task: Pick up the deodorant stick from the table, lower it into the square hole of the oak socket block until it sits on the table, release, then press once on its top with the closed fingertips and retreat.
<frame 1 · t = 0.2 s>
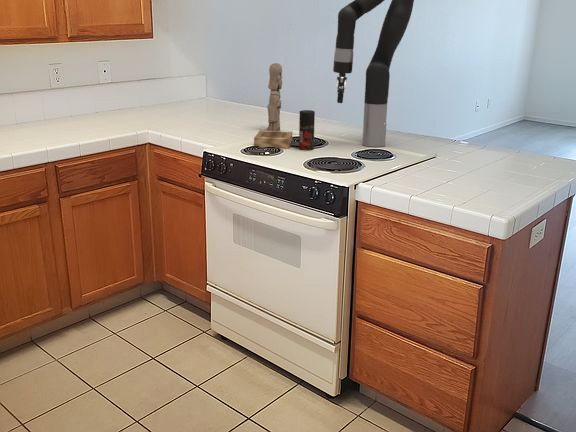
hand: (340, 101, 247), 18 cm above the worktop, tool pointing down, fingers open, 8 cm apart
sculpture: (274, 131, 278), on the worktop
socket block: (273, 144, 252), on the worktop
deodorant: (306, 149, 245), on the worktop
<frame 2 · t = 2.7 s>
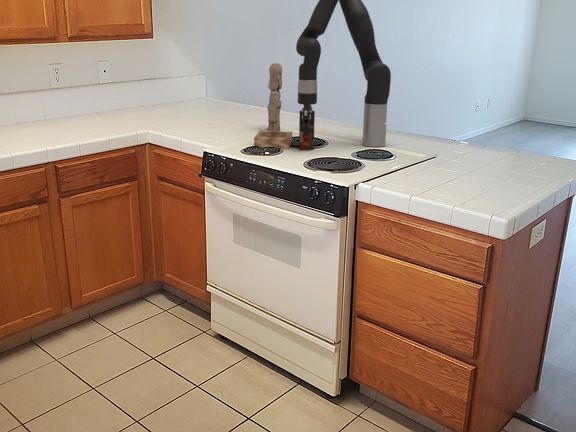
hand: (306, 133, 243), 6 cm above the worktop, tool pointing down, fingers closed on deodorant, 6 cm apart
deodorant: (306, 149, 245), on the worktop, touching gripper
everything else where it was.
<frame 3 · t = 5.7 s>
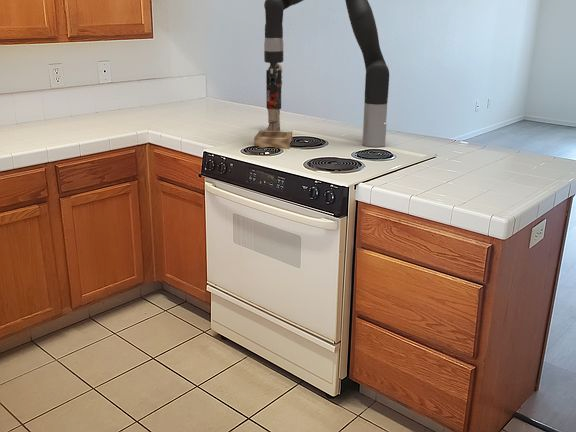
hand: (273, 92, 245), 21 cm above the worktop, tool pointing down, fingers closed on deodorant, 6 cm apart
deodorant: (273, 108, 247), point 15 cm above the worktop, touching gripper
everything else where it was.
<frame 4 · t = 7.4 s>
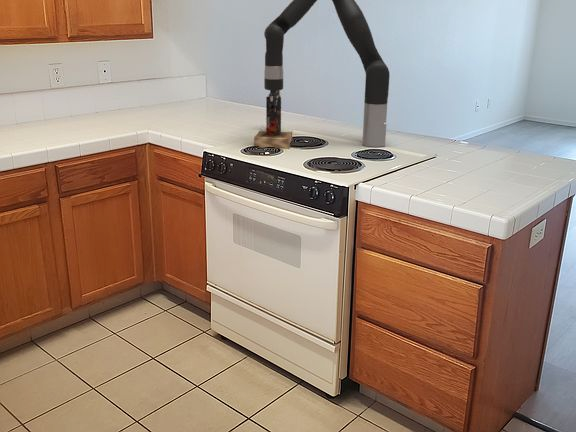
hand: (273, 119, 249), 10 cm above the worktop, tool pointing down, fingers closed on deodorant, 6 cm apart
deodorant: (273, 134, 251), point 4 cm above the worktop, touching gripper
everything else where it was.
when the fingers open (7 cm above the worktop, at t = 8.6 s): deodorant drops 1 cm, resting in socket block.
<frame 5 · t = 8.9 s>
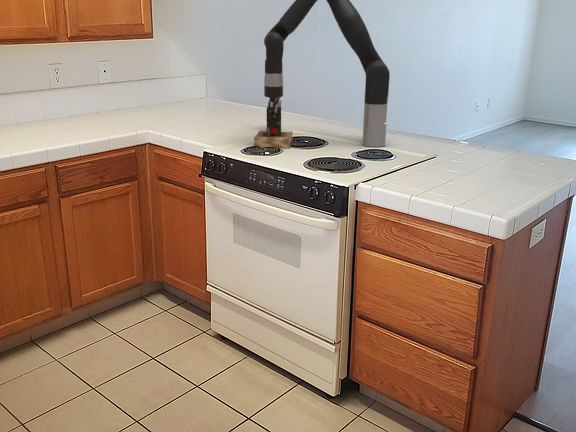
hand: (273, 125, 249), 8 cm above the worktop, tool pointing down, fingers open, 8 cm apart
deodorant: (273, 144, 252), resting in socket block
everything else where it was.
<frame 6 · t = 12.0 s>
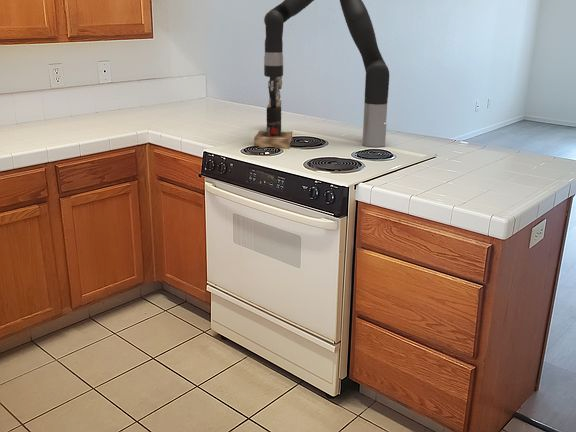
hand: (273, 107, 247), 15 cm above the worktop, tool pointing down, fingers closed
deodorant: (273, 144, 252), resting in socket block, touching gripper
everything else where it was.
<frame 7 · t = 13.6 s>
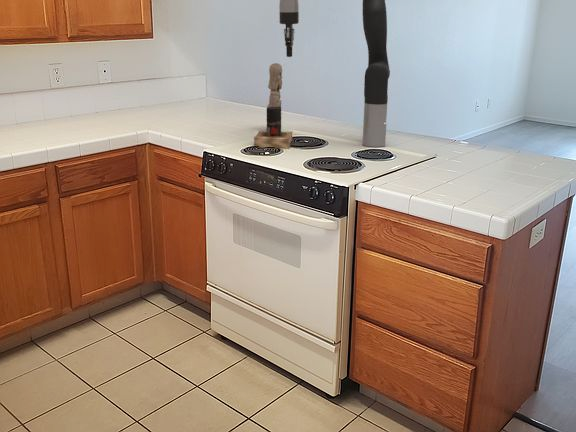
hand: (289, 56, 245), 35 cm above the worktop, tool pointing down, fingers closed
deodorant: (273, 144, 252), resting in socket block
everything else where it was.
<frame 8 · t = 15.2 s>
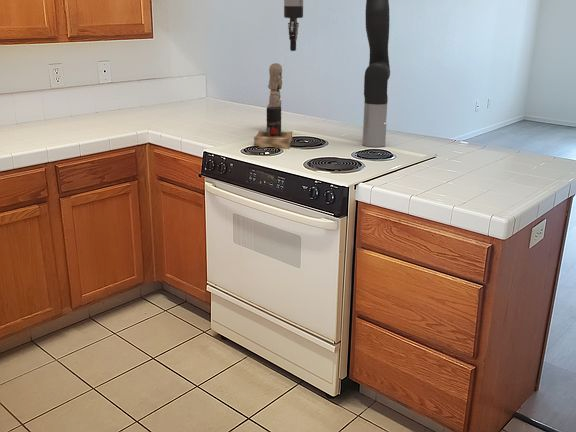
hand: (293, 50, 246), 37 cm above the worktop, tool pointing down, fingers closed
nothing on the worktop moved.
at the end: deodorant 0.1 cm off-centre on the socket block, point 0.0 cm above the socket block's base; deodorant tilted 0°; the gripper is holding nothing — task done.
